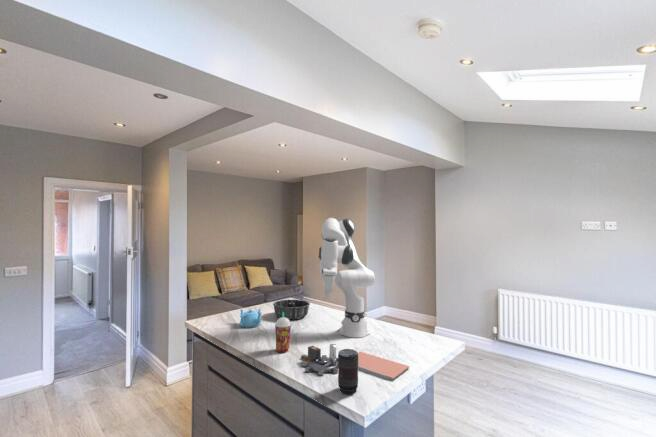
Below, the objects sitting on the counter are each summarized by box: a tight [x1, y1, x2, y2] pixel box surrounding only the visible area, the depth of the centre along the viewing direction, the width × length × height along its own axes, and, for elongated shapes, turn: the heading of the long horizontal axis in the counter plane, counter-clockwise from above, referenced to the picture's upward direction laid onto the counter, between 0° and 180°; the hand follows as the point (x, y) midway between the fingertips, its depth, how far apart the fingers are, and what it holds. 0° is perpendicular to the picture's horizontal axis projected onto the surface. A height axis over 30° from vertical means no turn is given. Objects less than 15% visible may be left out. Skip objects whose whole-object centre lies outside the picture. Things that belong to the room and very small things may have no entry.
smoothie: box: [274, 312, 292, 354], centre depth 169 cm, size 8×8×20 cm
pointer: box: [300, 353, 309, 361], centre depth 159 cm, size 4×2×2 cm, turn 46°
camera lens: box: [337, 348, 359, 396], centre depth 129 cm, size 8×8×15 cm
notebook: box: [357, 351, 410, 382], centre depth 151 cm, size 27×17×2 cm, turn 51°
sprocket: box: [302, 343, 339, 376], centre depth 151 cm, size 18×18×10 cm
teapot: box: [239, 307, 263, 329], centre depth 212 cm, size 15×15×10 cm
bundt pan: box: [272, 299, 311, 321], centre depth 234 cm, size 26×26×10 cm
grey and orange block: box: [307, 345, 322, 361], centre depth 155 cm, size 3×6×5 cm, turn 41°
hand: (326, 297), depth 164 cm, fingers closed
